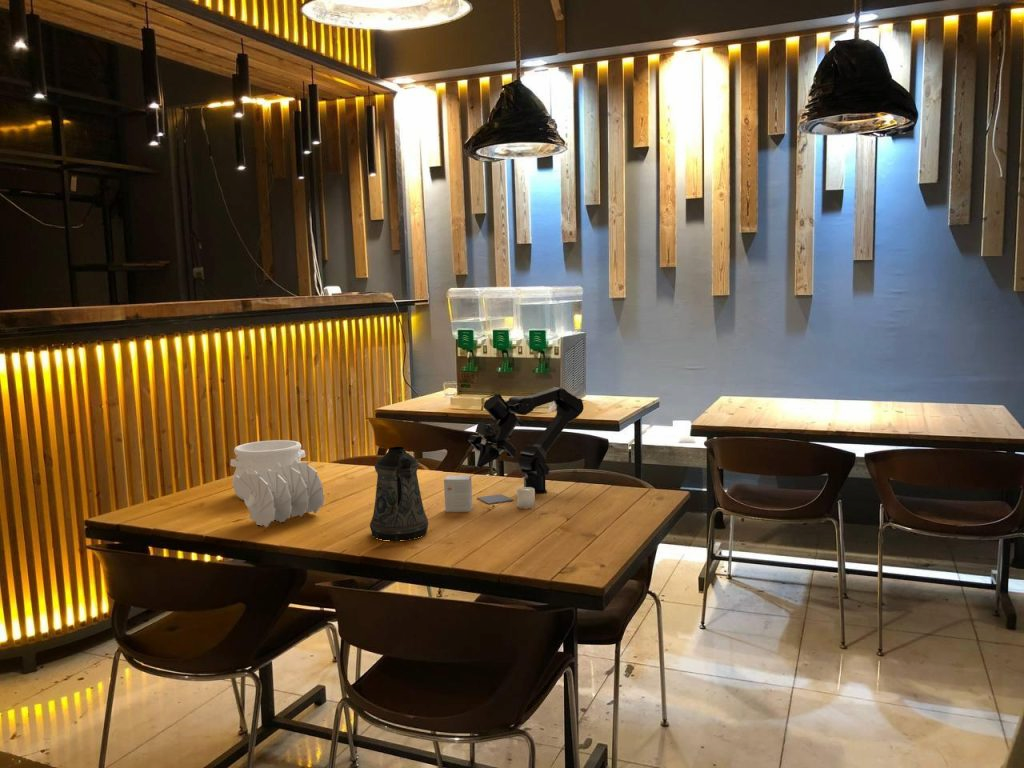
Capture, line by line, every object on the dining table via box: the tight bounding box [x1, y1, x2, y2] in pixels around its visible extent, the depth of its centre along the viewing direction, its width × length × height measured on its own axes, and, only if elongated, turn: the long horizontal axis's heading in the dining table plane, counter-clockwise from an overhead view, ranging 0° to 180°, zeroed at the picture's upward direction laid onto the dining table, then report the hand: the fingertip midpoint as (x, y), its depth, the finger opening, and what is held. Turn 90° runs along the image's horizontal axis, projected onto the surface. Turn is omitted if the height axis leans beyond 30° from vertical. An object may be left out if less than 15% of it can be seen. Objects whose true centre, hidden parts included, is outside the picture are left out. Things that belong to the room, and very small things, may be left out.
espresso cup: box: [516, 486, 536, 510], centre depth 264 cm, size 6×8×6 cm
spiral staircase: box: [232, 460, 326, 528], centre depth 253 cm, size 18×18×25 cm
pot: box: [230, 439, 306, 501], centre depth 286 cm, size 26×24×18 cm
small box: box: [443, 475, 473, 513], centre depth 260 cm, size 8×6×10 cm
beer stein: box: [369, 446, 429, 541], centre depth 234 cm, size 16×19×25 cm
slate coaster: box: [476, 493, 514, 505], centre depth 272 cm, size 9×9×1 cm
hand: (478, 466), depth 265 cm, fingers closed
